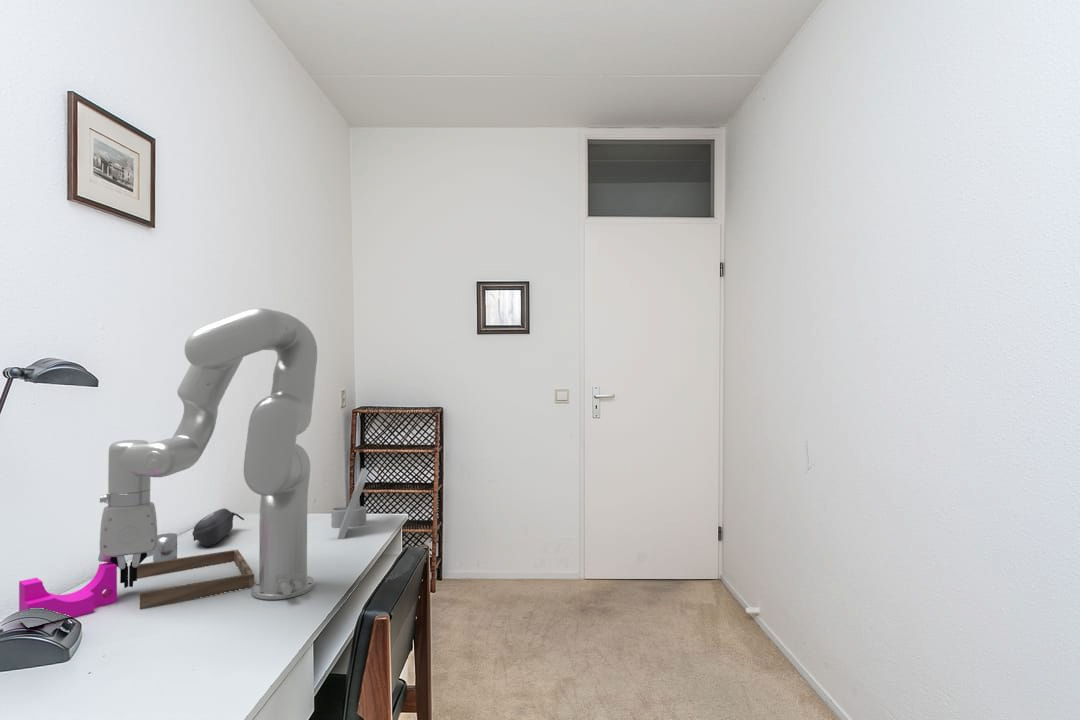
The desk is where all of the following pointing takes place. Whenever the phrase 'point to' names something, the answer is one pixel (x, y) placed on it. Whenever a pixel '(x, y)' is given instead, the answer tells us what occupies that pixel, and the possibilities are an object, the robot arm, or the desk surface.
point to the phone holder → (351, 510)
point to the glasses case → (214, 527)
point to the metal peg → (166, 547)
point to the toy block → (72, 594)
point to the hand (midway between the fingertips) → (128, 585)
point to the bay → (194, 589)
